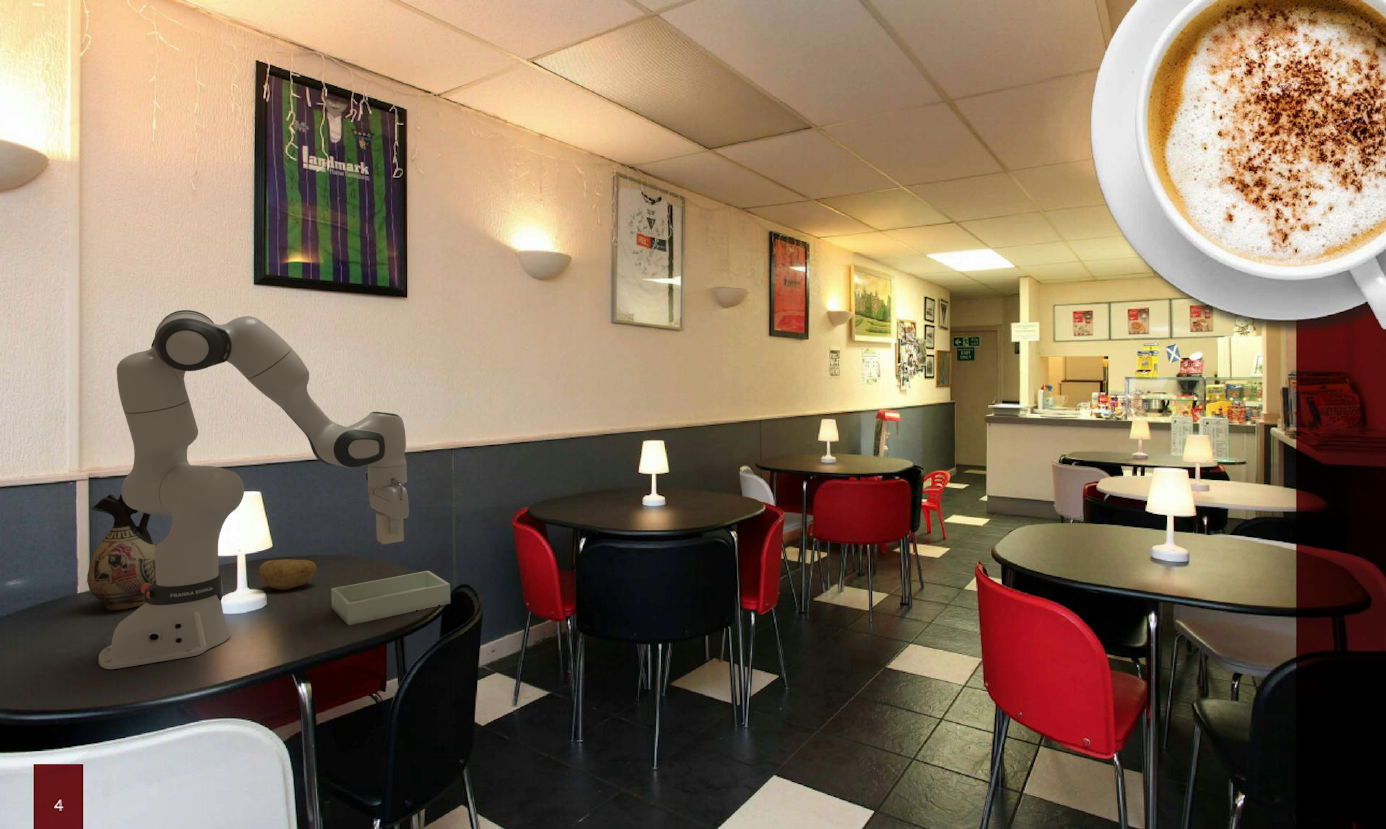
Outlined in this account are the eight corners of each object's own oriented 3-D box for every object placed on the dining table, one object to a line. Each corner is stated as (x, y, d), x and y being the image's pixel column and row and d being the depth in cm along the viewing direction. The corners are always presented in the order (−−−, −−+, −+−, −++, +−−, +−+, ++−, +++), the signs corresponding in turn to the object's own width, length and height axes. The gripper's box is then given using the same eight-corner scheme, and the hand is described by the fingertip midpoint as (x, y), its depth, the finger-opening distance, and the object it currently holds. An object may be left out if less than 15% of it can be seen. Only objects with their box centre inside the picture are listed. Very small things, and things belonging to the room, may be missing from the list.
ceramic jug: (78, 619, 168) (71, 495, 166) (101, 599, 182) (95, 485, 180) (165, 608, 174) (158, 489, 172) (181, 591, 188) (175, 480, 187)
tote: (348, 625, 163) (347, 604, 162) (331, 608, 175) (331, 588, 174) (450, 603, 178) (450, 584, 178) (428, 588, 190) (428, 570, 190)
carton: (382, 544, 172) (381, 516, 171) (376, 540, 176) (375, 513, 175) (403, 541, 175) (402, 513, 174) (397, 537, 179) (396, 510, 178)
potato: (310, 592, 187) (309, 562, 187) (252, 595, 185) (251, 565, 184) (322, 581, 197) (321, 553, 196) (267, 584, 194) (266, 556, 194)
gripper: (414, 480, 168) (416, 537, 169) (388, 470, 184) (390, 522, 185) (387, 483, 164) (389, 541, 165) (362, 473, 180) (364, 526, 181)
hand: (389, 531), depth 175 cm, fingers closed on carton, 5 cm apart
